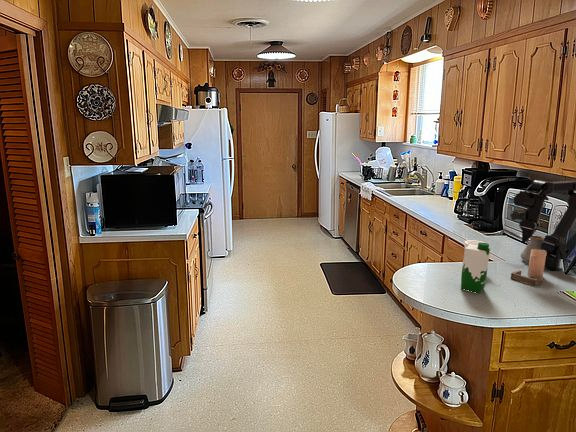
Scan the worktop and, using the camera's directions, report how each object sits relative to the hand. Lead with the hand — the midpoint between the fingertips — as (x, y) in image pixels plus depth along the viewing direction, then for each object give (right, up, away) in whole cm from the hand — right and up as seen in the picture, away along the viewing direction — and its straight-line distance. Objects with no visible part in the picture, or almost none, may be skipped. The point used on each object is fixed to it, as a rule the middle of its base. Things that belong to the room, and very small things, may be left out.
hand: (524, 241), depth 196 cm
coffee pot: (+9, -11, +19) cm, 24 cm away
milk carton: (-31, -19, -17) cm, 40 cm away
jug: (+3, -16, -2) cm, 16 cm away
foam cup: (-21, -14, +5) cm, 26 cm away
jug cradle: (-2, -16, -6) cm, 18 cm away
